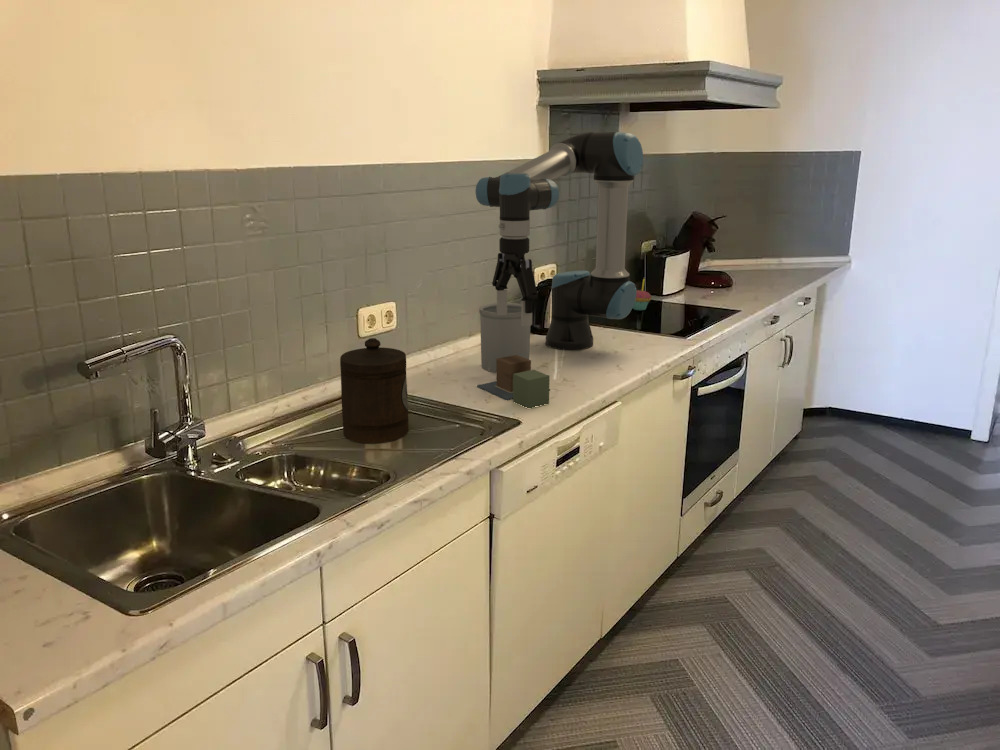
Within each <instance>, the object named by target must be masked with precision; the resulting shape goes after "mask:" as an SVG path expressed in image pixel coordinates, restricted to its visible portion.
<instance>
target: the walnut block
mask: <svg viewBox="0 0 1000 750" xmlns="http://www.w3.org/2000/svg"><path fill="white" fill-rule="evenodd" d="M496 367H497V373H496V381H497V386H498V387H500V388H503V389H505V390H507V391H509V392H513V374H515V373H520V372H525V371H529V370H532V360H531V359H529V360H528V359H526V358H523V357H521V356H518V355H514V356H508V357H503V358H498V359H496Z"/></svg>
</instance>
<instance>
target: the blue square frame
mask: <svg viewBox="0 0 1000 750" xmlns="http://www.w3.org/2000/svg"><path fill="white" fill-rule="evenodd" d="M476 387H477V388H479V389H481V390H483V391H485V390H486V391H485V392H487V391H488V393H489V392H490V394H491V393H492V395H494V396H496V397H498V398H501V400H505V401H506V400H507V401H510V400H513V392H509V391H507V390H505V389H503V388H500V387H498V386H497V380H495V381H490V382H486V383H481V384H477V385H476ZM550 391H551V388H549V392H550Z"/></svg>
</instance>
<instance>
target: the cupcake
mask: <svg viewBox="0 0 1000 750" xmlns="http://www.w3.org/2000/svg"><path fill="white" fill-rule="evenodd" d="M645 281H646V279H645V276H644V277H643V279H642V283H641V284H642V285H641V289H638V290H637V289H636V292H637V293H636V300H635V303H634V306H633V308H632V309H633V310H634V311H646V309H647V307H648V305H649V303H650V301H651V300H652V295H651V294H650V293H649V292H648V291H646V290H644V289H645Z"/></svg>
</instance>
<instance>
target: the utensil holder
mask: <svg viewBox="0 0 1000 750" xmlns="http://www.w3.org/2000/svg"><path fill="white" fill-rule="evenodd" d="M478 312H479V313H478V314H479V315H480V359H481V360H480V361H481V368H482V369H483V370H485V371H487V372H492V373H496V374H497V367H496V359H498V358H503V357H508V356H514V355H518V356H521V357H523V358H526V359H528V360H530V348H531V325H529V326H521V303H516V302H515V303H514V302H507V314H506V315H497V302H493V303H487V304H483V305H481V306H479V308H478Z"/></svg>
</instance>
